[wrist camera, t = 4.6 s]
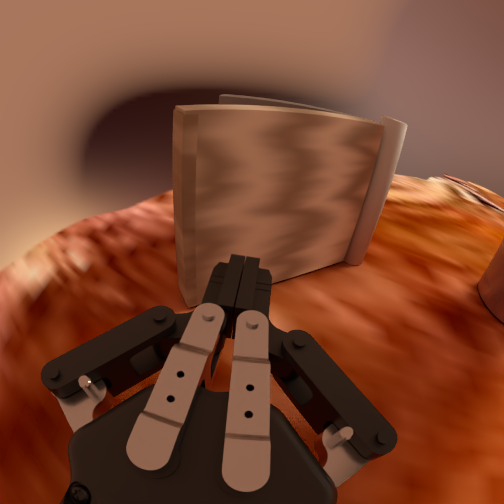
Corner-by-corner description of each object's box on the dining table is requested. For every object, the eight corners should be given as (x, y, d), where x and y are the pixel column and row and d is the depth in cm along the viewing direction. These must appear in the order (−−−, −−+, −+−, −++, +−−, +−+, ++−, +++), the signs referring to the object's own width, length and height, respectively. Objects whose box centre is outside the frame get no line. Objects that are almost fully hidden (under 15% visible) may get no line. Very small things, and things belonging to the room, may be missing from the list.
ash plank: (330, 249, 29) (366, 118, 21) (343, 261, 27) (385, 126, 19) (179, 290, 22) (173, 105, 14) (187, 308, 20) (183, 110, 12)
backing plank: (355, 240, 32) (392, 116, 23) (363, 267, 28) (412, 126, 19) (215, 217, 32) (225, 84, 23) (204, 241, 28) (211, 87, 19)
